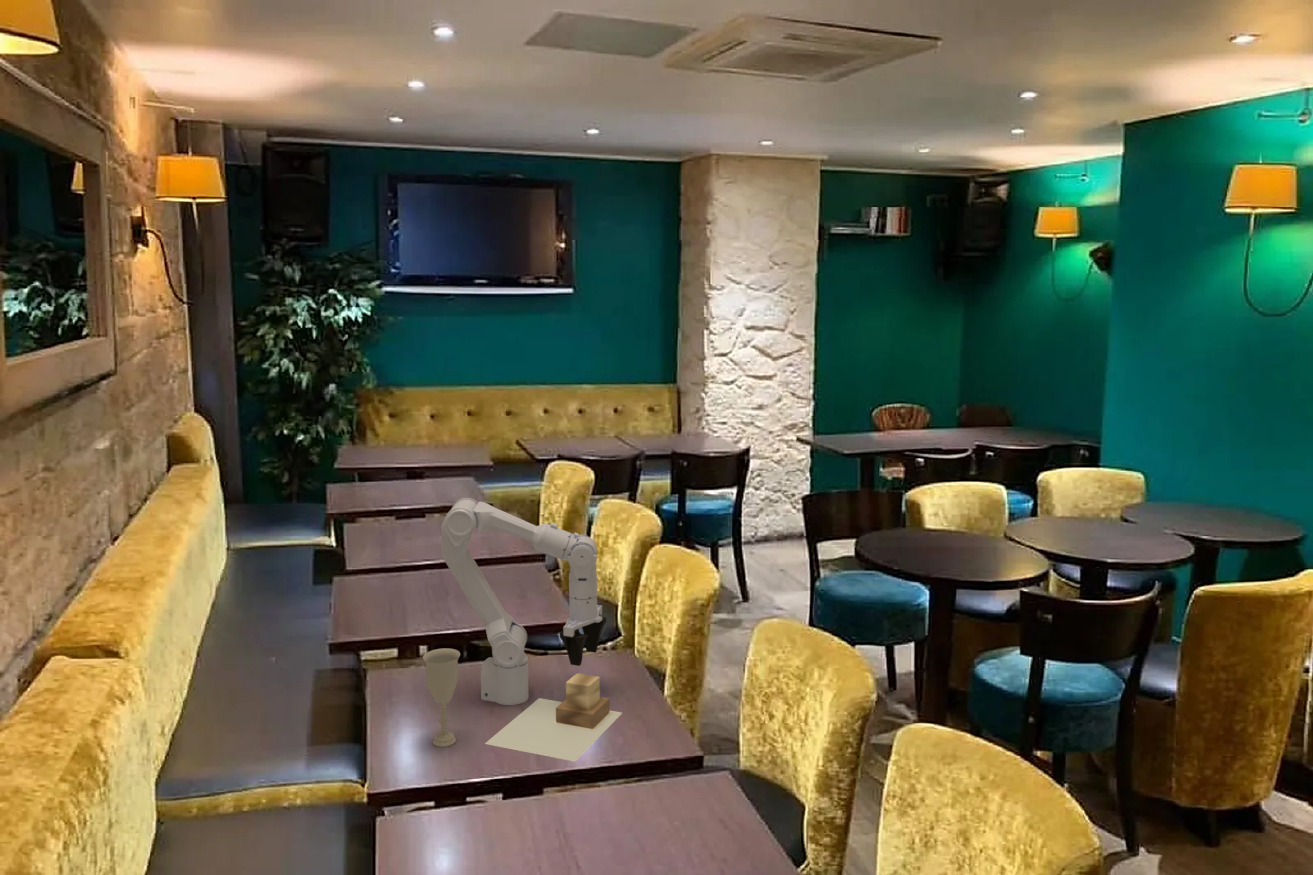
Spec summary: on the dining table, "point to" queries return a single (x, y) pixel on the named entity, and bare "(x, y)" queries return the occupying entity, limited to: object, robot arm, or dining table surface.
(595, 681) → the light wooden cube
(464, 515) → the robot arm
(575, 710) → the walnut slab
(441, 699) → the chalice
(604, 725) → the plain cream board
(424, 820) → the dining table surface
